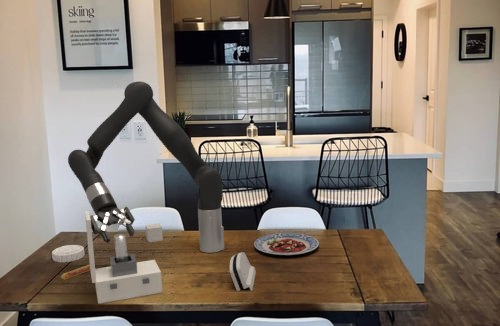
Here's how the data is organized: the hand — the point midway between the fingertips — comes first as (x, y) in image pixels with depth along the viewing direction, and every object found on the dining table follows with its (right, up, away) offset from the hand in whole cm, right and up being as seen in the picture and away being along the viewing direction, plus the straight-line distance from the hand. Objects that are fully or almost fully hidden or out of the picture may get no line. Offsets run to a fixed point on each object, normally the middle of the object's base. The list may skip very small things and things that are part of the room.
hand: (120, 238), depth 164 cm
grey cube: (+1, -9, +53) cm, 54 cm away
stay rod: (+1, -10, 0) cm, 11 cm away
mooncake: (-29, -13, +35) cm, 47 cm away
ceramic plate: (+57, -10, +38) cm, 69 cm away
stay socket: (+1, -11, -1) cm, 11 cm away
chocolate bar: (-20, -16, +17) cm, 31 cm away
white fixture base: (+2, -17, +1) cm, 17 cm away
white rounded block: (+40, -16, +6) cm, 43 cm away
